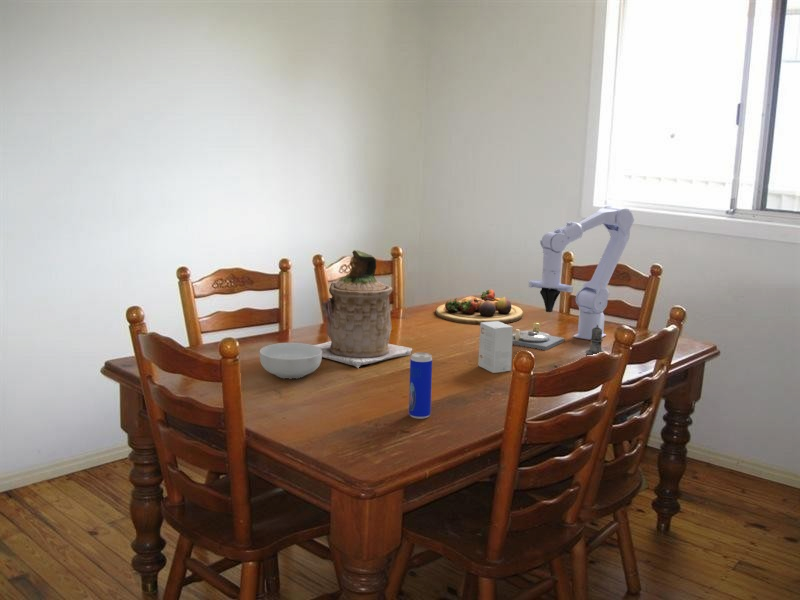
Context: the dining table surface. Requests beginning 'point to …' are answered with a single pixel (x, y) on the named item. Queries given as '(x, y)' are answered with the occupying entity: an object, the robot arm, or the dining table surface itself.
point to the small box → (495, 346)
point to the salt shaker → (595, 342)
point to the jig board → (539, 345)
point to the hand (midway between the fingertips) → (549, 311)
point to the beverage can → (420, 385)
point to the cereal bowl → (290, 359)
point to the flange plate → (533, 334)
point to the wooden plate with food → (480, 309)
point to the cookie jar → (359, 317)
